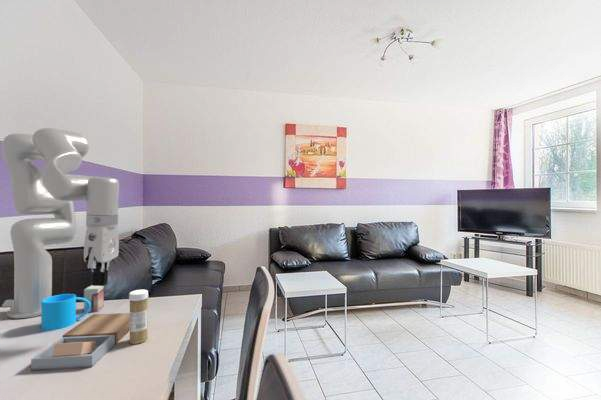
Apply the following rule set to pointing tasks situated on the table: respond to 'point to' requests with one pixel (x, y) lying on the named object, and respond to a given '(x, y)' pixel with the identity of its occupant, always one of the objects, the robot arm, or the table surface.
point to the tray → (73, 361)
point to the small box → (94, 297)
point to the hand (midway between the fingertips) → (99, 284)
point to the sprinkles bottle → (138, 316)
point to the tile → (73, 348)
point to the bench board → (103, 326)
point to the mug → (60, 311)
